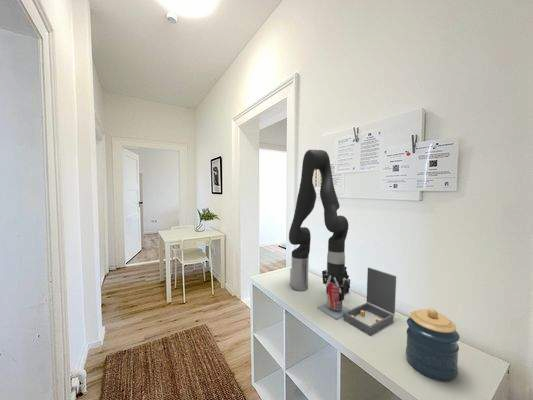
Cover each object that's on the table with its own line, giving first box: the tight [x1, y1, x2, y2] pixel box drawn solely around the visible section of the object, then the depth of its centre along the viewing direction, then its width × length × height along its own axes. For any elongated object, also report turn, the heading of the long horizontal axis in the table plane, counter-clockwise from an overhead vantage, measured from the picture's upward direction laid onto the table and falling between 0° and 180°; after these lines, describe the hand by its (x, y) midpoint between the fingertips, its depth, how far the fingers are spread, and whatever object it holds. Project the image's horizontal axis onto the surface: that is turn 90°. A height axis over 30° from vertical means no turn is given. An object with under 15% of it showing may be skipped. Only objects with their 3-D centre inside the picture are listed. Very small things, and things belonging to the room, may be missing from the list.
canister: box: [405, 308, 460, 382], centre depth 69 cm, size 13×13×18 cm
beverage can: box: [326, 281, 343, 311], centre depth 100 cm, size 6×6×12 cm
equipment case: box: [342, 267, 397, 337], centre depth 92 cm, size 12×17×19 cm
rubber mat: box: [316, 302, 351, 321], centre depth 100 cm, size 11×11×1 cm
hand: (334, 297), depth 100 cm, fingers closed on beverage can, 6 cm apart
